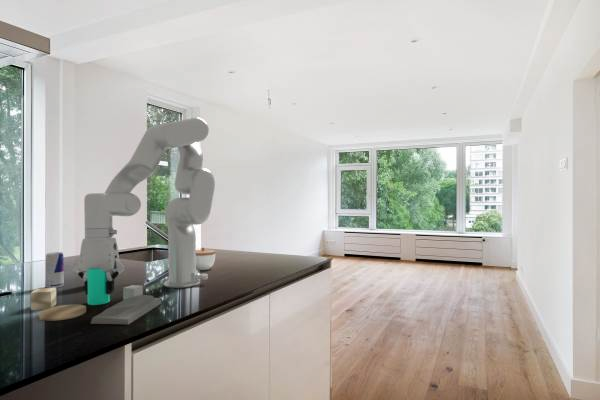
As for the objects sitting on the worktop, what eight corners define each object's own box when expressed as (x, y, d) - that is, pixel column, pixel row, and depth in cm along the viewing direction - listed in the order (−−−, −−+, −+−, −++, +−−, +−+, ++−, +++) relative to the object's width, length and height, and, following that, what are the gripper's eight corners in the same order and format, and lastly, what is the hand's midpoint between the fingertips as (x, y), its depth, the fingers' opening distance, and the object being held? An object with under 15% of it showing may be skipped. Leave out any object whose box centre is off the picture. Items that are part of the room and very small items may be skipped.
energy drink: (67, 285, 140) (66, 252, 140) (52, 289, 135) (51, 254, 135) (57, 284, 142) (57, 251, 142) (42, 287, 137) (42, 253, 137)
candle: (94, 306, 114) (94, 265, 114) (83, 303, 117) (82, 263, 117) (113, 301, 119) (113, 262, 119) (102, 298, 122) (102, 260, 122)
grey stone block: (142, 298, 122) (142, 285, 122) (133, 301, 119) (133, 288, 119) (132, 297, 124) (132, 285, 124) (123, 300, 120) (123, 287, 120)
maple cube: (56, 304, 116) (56, 287, 116) (51, 308, 112) (50, 291, 112) (37, 305, 115) (36, 288, 115) (30, 310, 110) (30, 292, 110)
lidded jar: (192, 266, 177) (192, 246, 177) (216, 266, 178) (216, 245, 178) (188, 271, 167) (188, 249, 166) (214, 270, 168) (214, 249, 168)
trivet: (93, 308, 111) (93, 304, 111) (72, 320, 100) (72, 315, 100) (54, 308, 111) (54, 304, 111) (29, 321, 100) (29, 316, 100)
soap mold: (89, 326, 98) (89, 312, 98) (130, 304, 118) (130, 292, 118) (128, 326, 97) (128, 312, 97) (163, 304, 117) (163, 293, 117)
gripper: (132, 232, 122) (133, 289, 122) (76, 233, 121) (77, 290, 121) (122, 234, 114) (123, 296, 114) (62, 235, 113) (63, 297, 114)
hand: (99, 292), depth 118 cm, fingers closed on candle, 5 cm apart
